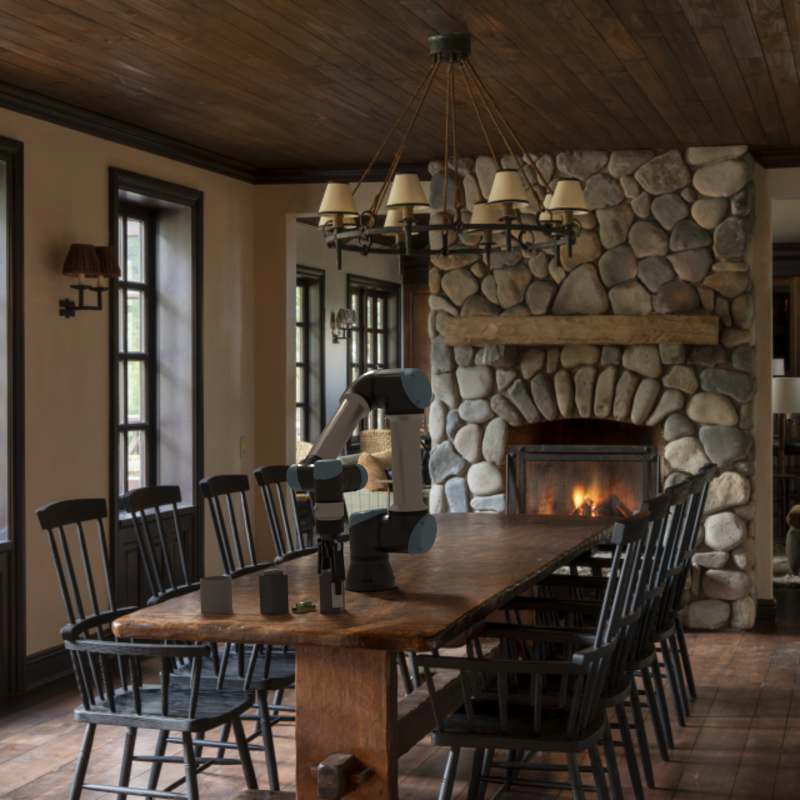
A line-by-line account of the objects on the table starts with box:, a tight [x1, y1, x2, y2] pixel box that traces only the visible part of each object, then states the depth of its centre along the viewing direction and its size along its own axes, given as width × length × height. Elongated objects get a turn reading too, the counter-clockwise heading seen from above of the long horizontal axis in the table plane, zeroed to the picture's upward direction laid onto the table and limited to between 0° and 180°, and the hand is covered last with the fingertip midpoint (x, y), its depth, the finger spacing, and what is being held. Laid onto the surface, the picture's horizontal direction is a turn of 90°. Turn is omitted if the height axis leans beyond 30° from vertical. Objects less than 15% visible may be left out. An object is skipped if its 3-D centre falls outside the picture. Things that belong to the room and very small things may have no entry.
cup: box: [199, 575, 234, 615], centre depth 350 cm, size 8×8×10 cm
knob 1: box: [258, 568, 290, 616], centre depth 345 cm, size 5×5×11 cm
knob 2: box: [318, 568, 346, 614], centre depth 344 cm, size 5×5×11 cm
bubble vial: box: [291, 600, 317, 615], centre depth 345 cm, size 6×2×3 cm, turn 131°
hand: (332, 604), depth 344 cm, fingers closed on knob 2, 7 cm apart
